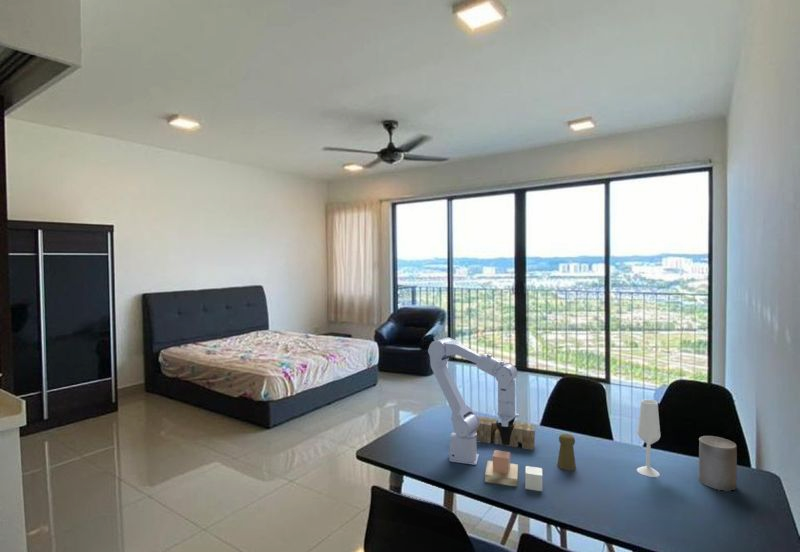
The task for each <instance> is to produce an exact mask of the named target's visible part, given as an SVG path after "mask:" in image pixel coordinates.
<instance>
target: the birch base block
mask: <svg viewBox="0 0 800 552" xmlns="http://www.w3.org/2000/svg"><path fill="white" fill-rule="evenodd" d="M486 463H487V464H486V467H485V473H484V482H485V483H490V484H496V485H497V484H498V485H502V486H503V485H504V486H510V487H518V476H519V475H518V474H519V465H518V463H517V464H516V463H511V462H510V470H509V474H505V473H499V472H493V460H487V462H486Z"/></svg>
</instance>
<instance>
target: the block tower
mask: <svg viewBox="0 0 800 552" xmlns="http://www.w3.org/2000/svg"><path fill="white" fill-rule="evenodd" d="M478 418H479V421H480V424H479V427H478V428H477V429H476V433H477V441H480V442H479V443H484V442H486V443H487V444H489V443H492V442H494V445H497V444H501V445H500V446H503V444H502V440H501V435H500V432H499V430H498V428H497V422H498V421H499V419H498V418H493V417H487V416H478ZM500 423H502V421H501V420H500ZM513 425H514V429H513V430H512V433H511V438H510V443H509V445H507V446H506V447H510V446H512V448H516V447H518V448H519V444H520V443H521V449H523V448H524V449H525V450H530V451H534V449H535V439H536V426H534V425H533V424H532V423H530V422H522V421H515V420H514V422H513ZM486 443H485V444H486Z"/></svg>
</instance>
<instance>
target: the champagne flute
mask: <svg viewBox="0 0 800 552" xmlns="http://www.w3.org/2000/svg"><path fill="white" fill-rule="evenodd" d="M659 414H660V413H659V403H658V401H656V400H653V399H649V398H648V399H641V401H640V408H639V417H638V424H637V431H636V432H637V435H638V437H639V438H640V440H642V441H643V442H644V443H645V444H646V451H645V452H646V456H645V461H646V462H645V465H644V466H639V467H638V468H636V471H637V473H638V474H641V475H643V476H646V477H650V478H658V477H659V476H661V475H660V473H659V472H658V470H656V469H654V468H653V467H651V450H652V449H651V447H652V446H651V445H653V444H654V443H656V442H658V441H659V440H660V438H661V425H660V416H659Z"/></svg>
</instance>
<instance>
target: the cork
mask: <svg viewBox="0 0 800 552" xmlns="http://www.w3.org/2000/svg"><path fill="white" fill-rule="evenodd" d="M558 442H559V443H560V445H559V450H558V451H559V452H558V458H557V467H558V468H559V469H561V470H564V471H568V472H569V471H572V472H573V471H575V470H576V469H577V467H576V465H577V464H576V457H575V450H574V446H575V444H576V439H575V436H573V435H572V434H569V433H561V434H560V435H559V436H558Z"/></svg>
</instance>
